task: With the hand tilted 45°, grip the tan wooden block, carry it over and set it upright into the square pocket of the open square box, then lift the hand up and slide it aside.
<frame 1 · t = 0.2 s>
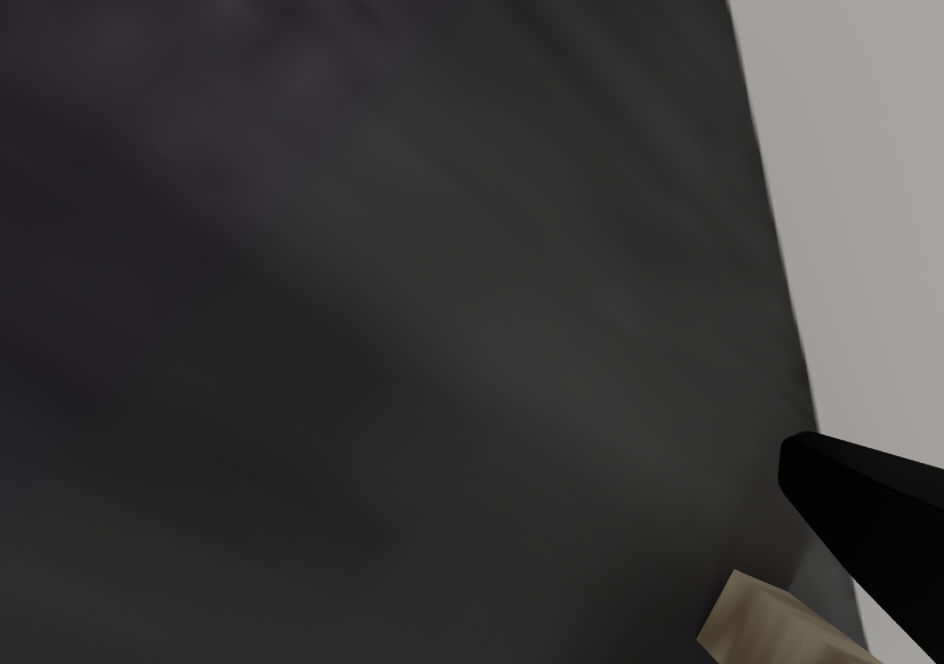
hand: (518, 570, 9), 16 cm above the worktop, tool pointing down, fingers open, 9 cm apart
tan wooden block: (743, 615, 31), on the worktop
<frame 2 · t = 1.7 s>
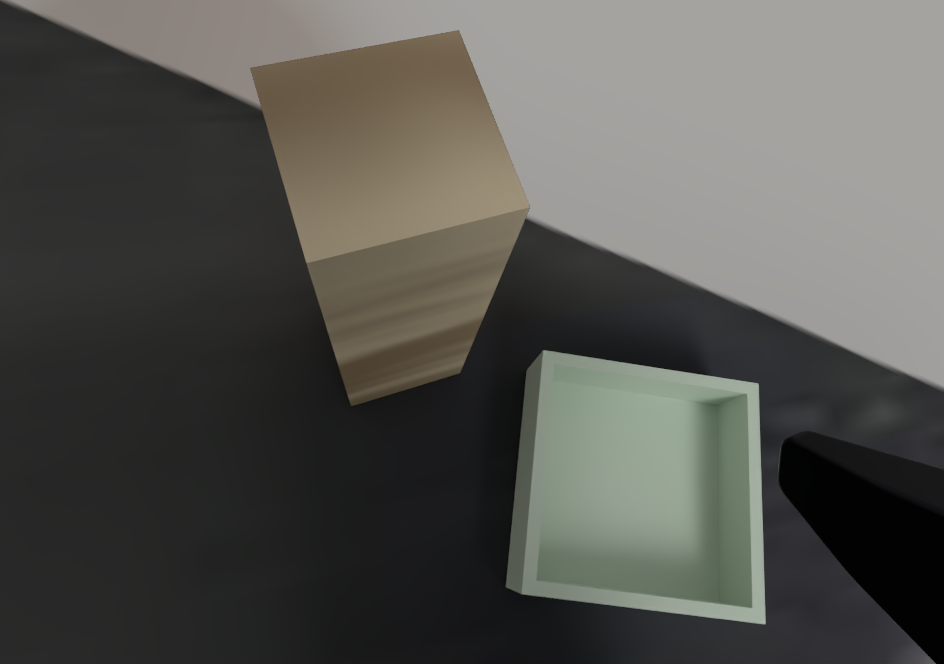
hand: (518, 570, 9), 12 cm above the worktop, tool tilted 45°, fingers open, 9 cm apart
tan wooden block: (390, 337, 22), on the worktop
open square box: (620, 486, 22), on the worktop
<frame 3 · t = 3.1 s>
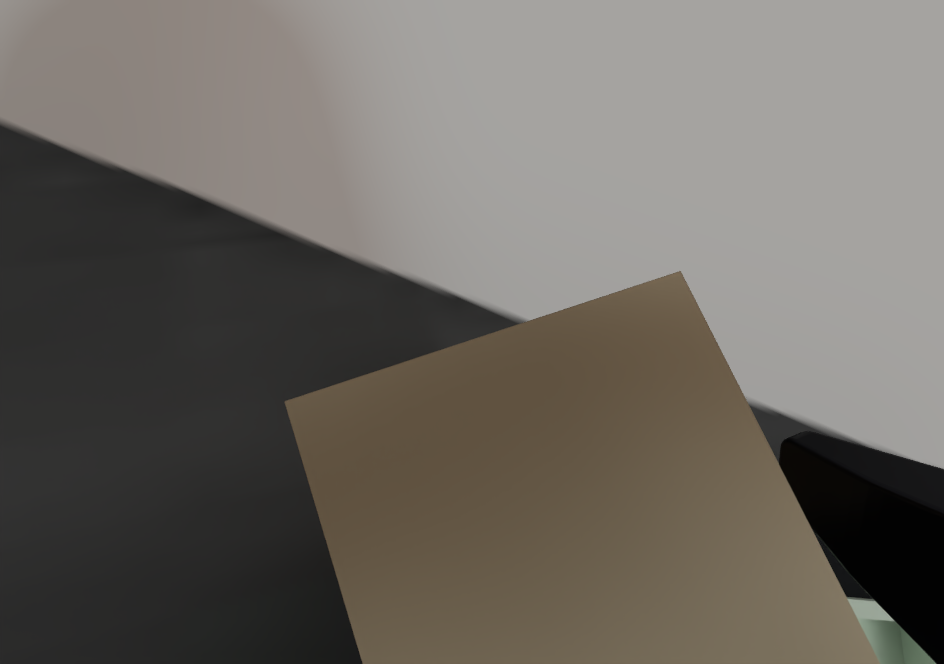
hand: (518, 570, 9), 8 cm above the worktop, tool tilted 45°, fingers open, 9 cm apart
tan wooden block: (454, 543, 17), on the worktop
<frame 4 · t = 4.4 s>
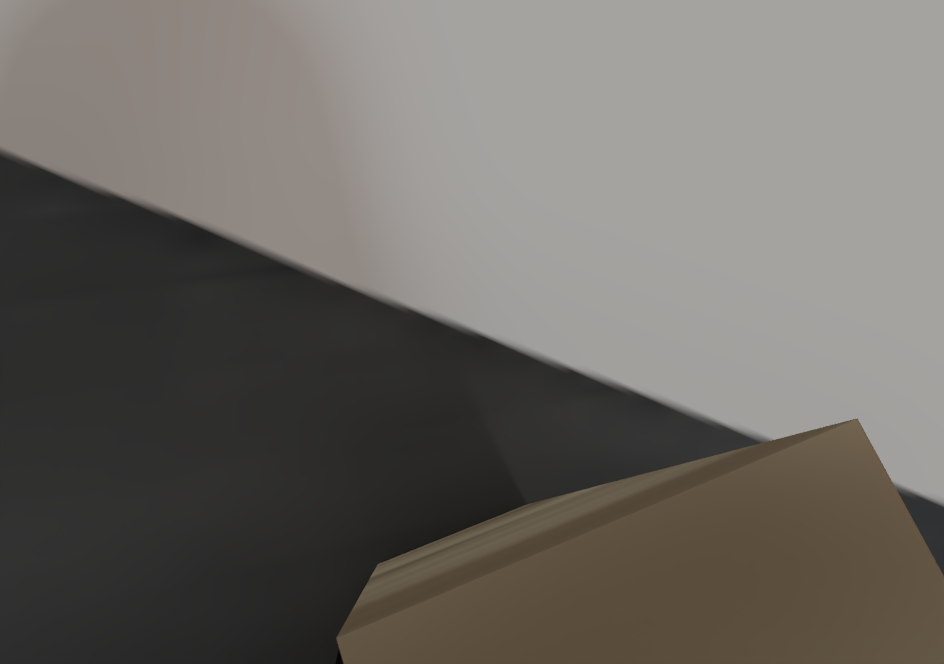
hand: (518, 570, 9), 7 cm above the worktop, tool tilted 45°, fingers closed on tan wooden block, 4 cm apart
tan wooden block: (483, 614, 15), on the worktop, touching gripper
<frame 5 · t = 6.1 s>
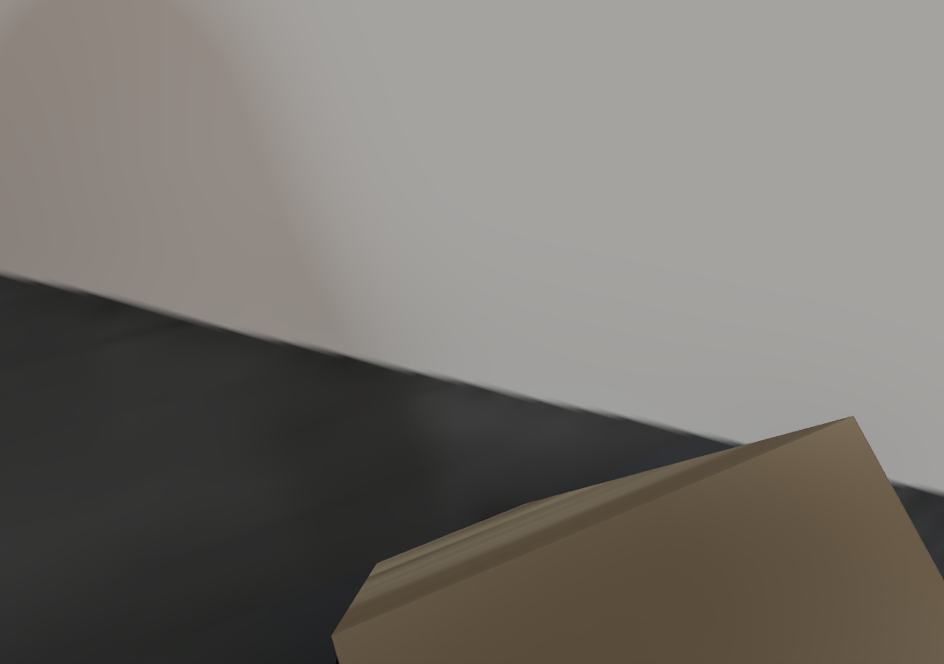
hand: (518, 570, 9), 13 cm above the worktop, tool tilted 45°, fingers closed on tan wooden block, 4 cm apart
tan wooden block: (482, 613, 15), point 5 cm above the worktop, touching gripper
when the fingers open (9 cm above the worktop, at t = 7.8 s): tan wooden block drops 1 cm, resting on open square box.
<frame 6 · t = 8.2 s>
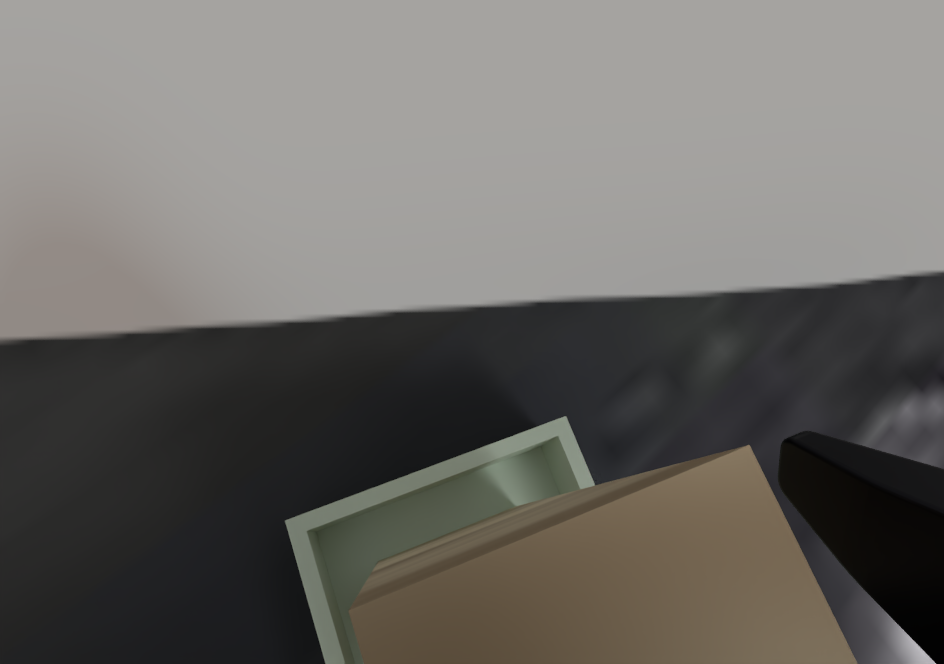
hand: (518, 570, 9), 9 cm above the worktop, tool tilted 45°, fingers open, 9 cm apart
tan wooden block: (475, 607, 16), point 1 cm above the worktop, touching open square box
open square box: (472, 605, 17), on the worktop
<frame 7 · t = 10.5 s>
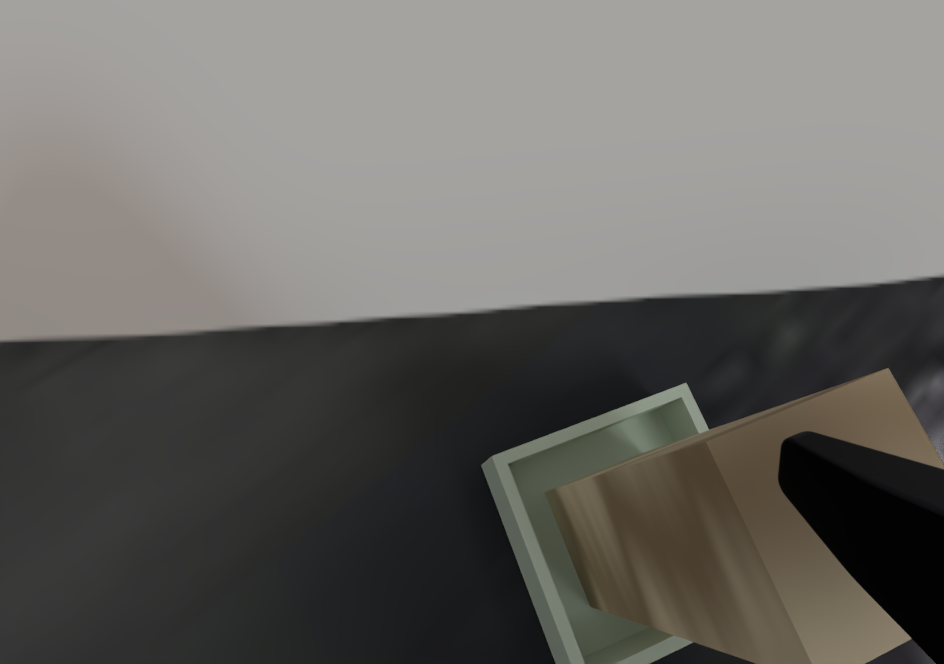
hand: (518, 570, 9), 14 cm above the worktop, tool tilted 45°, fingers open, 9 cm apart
tan wooden block: (617, 526, 22), point 1 cm above the worktop, touching open square box
open square box: (612, 527, 22), on the worktop
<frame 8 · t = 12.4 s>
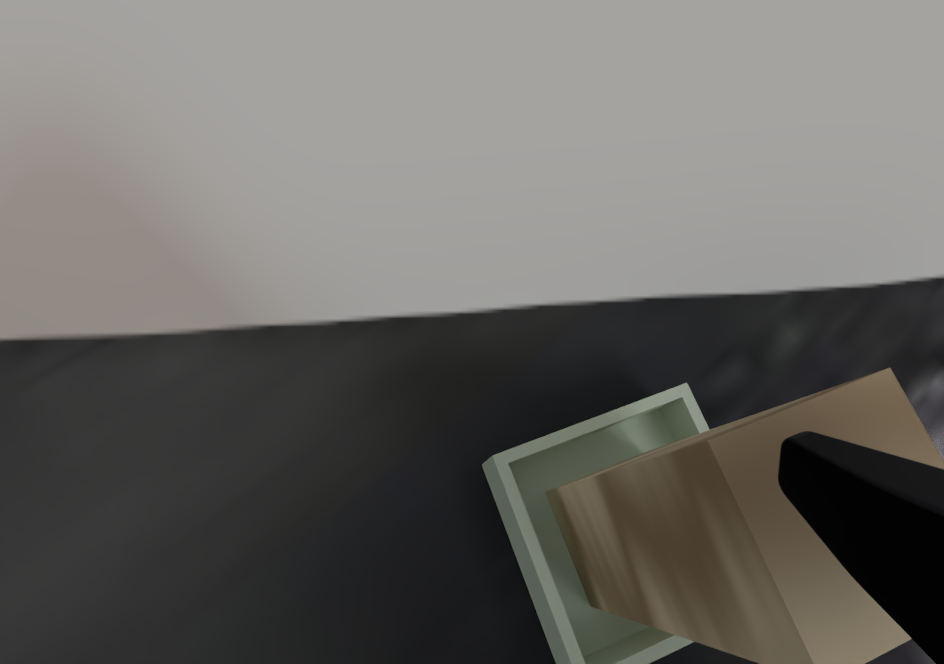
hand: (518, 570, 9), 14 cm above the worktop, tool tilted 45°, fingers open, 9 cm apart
tan wooden block: (618, 526, 22), point 1 cm above the worktop, touching open square box
open square box: (612, 526, 22), on the worktop
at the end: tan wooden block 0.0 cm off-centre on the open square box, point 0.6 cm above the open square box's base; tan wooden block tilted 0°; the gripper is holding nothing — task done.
